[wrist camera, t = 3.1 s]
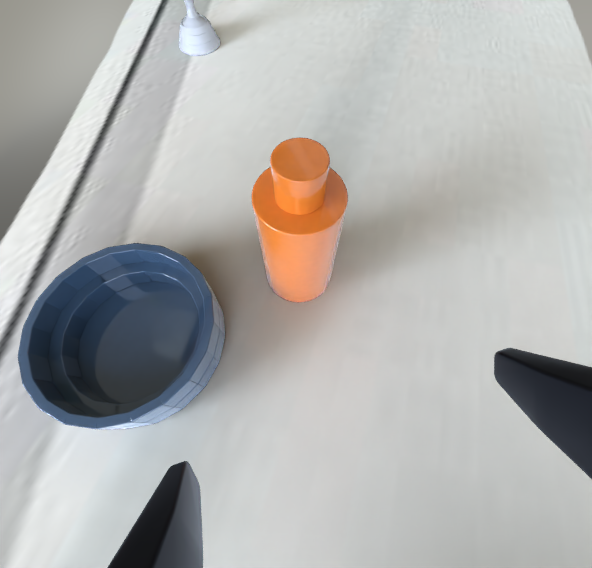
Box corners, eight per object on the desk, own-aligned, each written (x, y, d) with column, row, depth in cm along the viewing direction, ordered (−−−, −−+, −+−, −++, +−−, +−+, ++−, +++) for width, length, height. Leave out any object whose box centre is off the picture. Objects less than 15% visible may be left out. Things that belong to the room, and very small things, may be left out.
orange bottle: (333, 248, 27) (358, 124, 16) (327, 306, 24) (352, 209, 14) (272, 242, 27) (255, 115, 16) (261, 298, 25) (233, 196, 14)
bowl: (240, 278, 26) (231, 253, 22) (203, 439, 21) (184, 442, 17) (100, 261, 26) (68, 234, 23) (33, 414, 21) (-21, 411, 18)
